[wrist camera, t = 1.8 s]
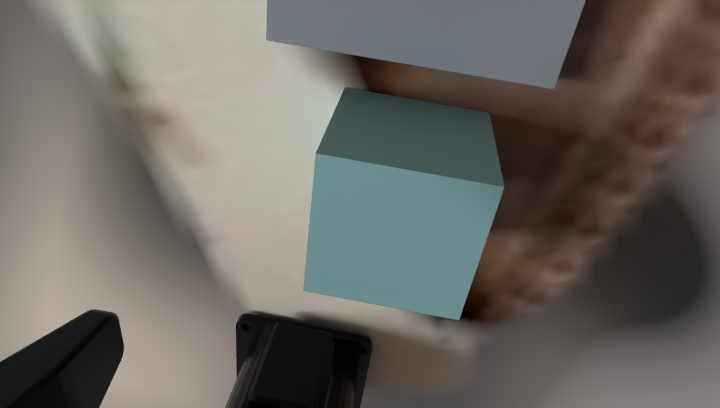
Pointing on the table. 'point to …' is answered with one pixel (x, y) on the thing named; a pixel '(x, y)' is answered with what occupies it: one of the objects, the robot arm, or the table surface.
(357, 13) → the build board
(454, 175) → the teal block
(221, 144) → the table surface
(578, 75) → the table surface
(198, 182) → the table surface
